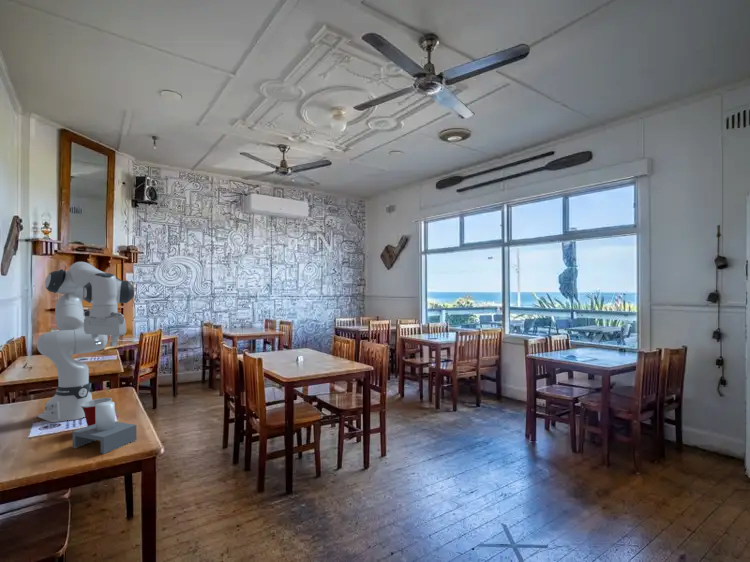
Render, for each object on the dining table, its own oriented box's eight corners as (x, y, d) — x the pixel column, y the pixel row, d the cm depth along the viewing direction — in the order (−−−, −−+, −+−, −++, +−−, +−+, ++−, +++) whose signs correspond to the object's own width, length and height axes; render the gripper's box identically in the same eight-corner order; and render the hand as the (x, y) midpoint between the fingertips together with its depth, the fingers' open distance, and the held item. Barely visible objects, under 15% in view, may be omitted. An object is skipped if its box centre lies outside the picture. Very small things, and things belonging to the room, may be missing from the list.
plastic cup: (84, 427, 172) (84, 398, 172) (114, 424, 176) (114, 396, 176) (76, 436, 161) (76, 406, 161) (109, 433, 166) (109, 403, 165)
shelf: (72, 447, 151) (72, 431, 151) (106, 435, 163) (106, 420, 163) (103, 454, 145) (103, 437, 145) (136, 440, 158) (136, 424, 158)
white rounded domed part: (91, 430, 152) (91, 405, 152) (106, 424, 158) (106, 400, 158) (104, 431, 151) (104, 407, 150) (118, 425, 156) (118, 402, 156)
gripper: (130, 312, 170) (130, 345, 170) (95, 311, 177) (95, 343, 177) (116, 313, 164) (116, 348, 164) (80, 312, 171) (80, 345, 171)
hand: (105, 345), depth 171 cm, fingers open, 8 cm apart
